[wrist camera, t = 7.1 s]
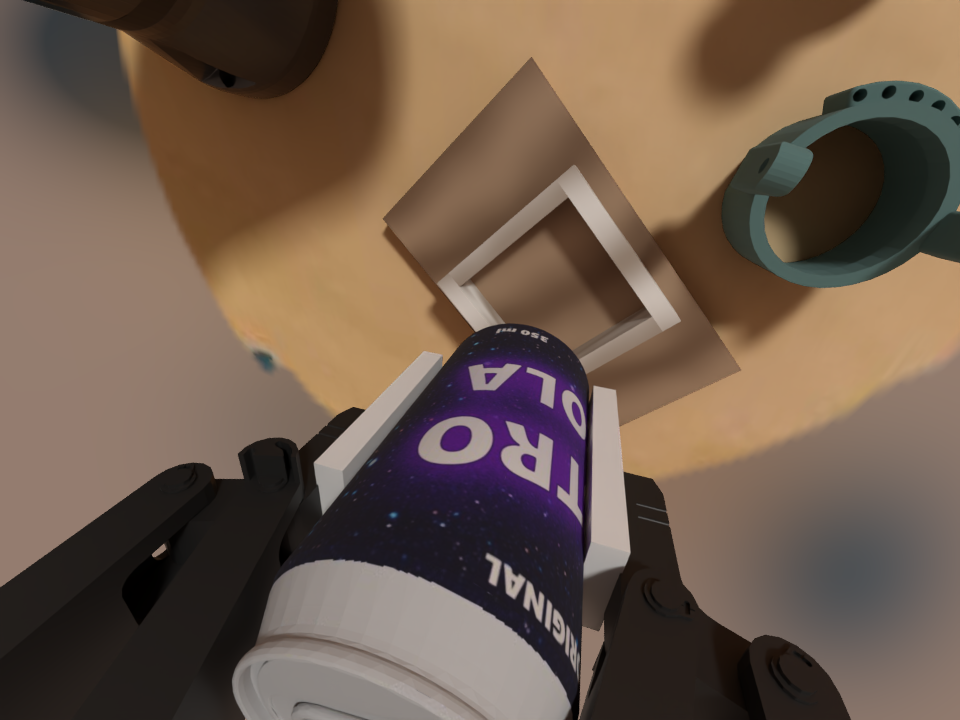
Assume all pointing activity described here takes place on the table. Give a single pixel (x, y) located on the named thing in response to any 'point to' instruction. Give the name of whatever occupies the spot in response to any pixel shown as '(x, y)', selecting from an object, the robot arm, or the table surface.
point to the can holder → (557, 251)
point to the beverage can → (444, 557)
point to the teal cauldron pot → (905, 194)
